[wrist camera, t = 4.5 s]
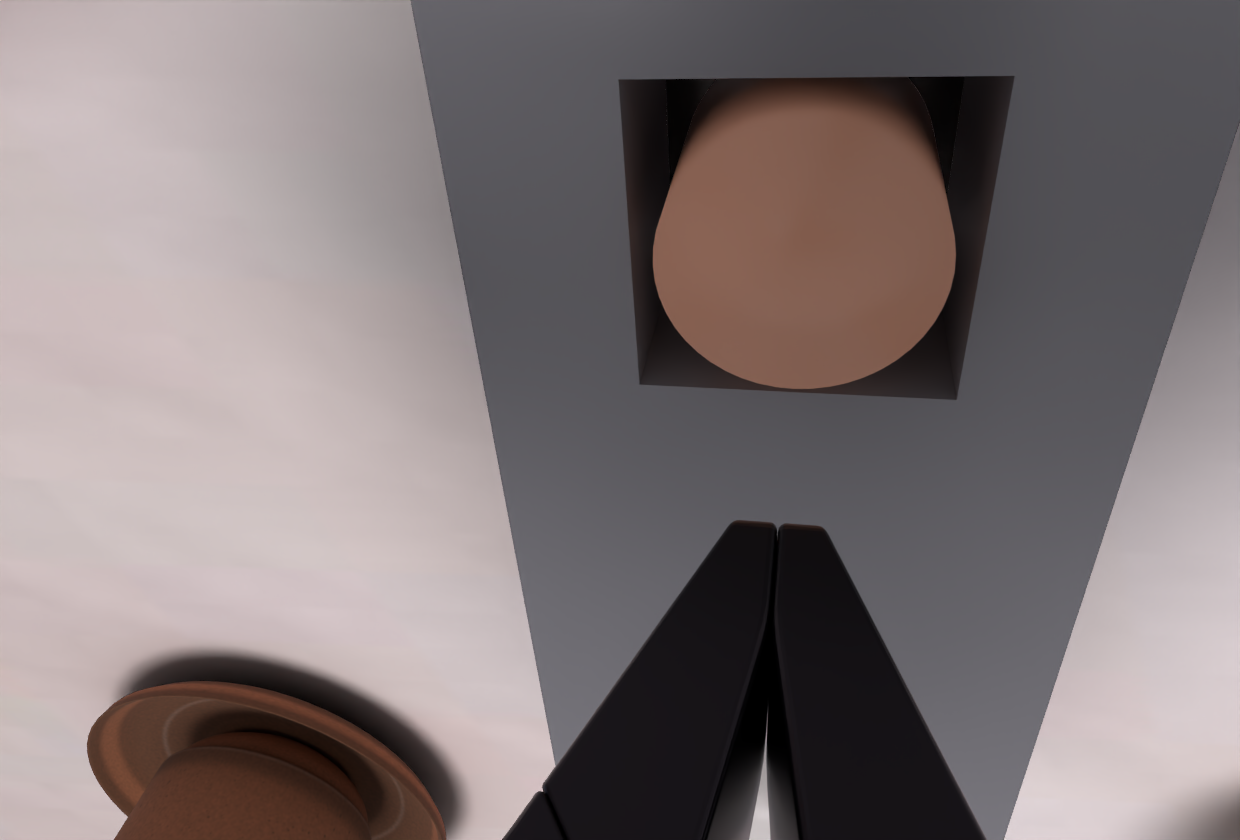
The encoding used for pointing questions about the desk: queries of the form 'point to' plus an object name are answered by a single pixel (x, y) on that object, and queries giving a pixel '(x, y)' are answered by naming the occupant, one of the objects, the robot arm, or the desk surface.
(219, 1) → the desk surface
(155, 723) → the cup and saucer
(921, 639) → the plug block
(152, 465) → the desk surface
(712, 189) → the terracotta plug
